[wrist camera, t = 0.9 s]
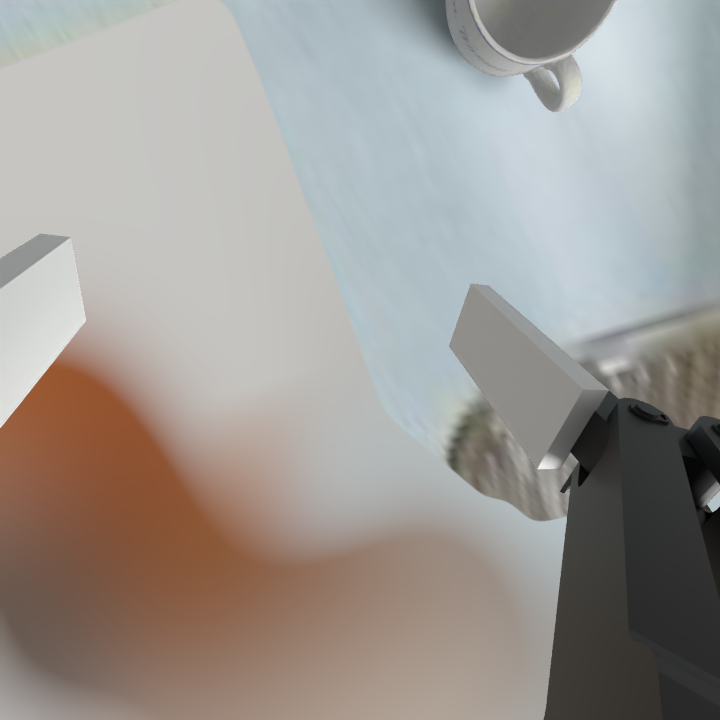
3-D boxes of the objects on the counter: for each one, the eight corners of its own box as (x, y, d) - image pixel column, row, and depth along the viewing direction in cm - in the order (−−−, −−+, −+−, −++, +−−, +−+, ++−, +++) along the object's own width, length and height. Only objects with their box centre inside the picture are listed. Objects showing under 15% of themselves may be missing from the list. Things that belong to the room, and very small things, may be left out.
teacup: (422, -62, 30) (451, -129, 23) (566, -114, 30) (641, -200, 22) (455, 141, 37) (485, 137, 29) (574, 102, 36) (635, 89, 29)
